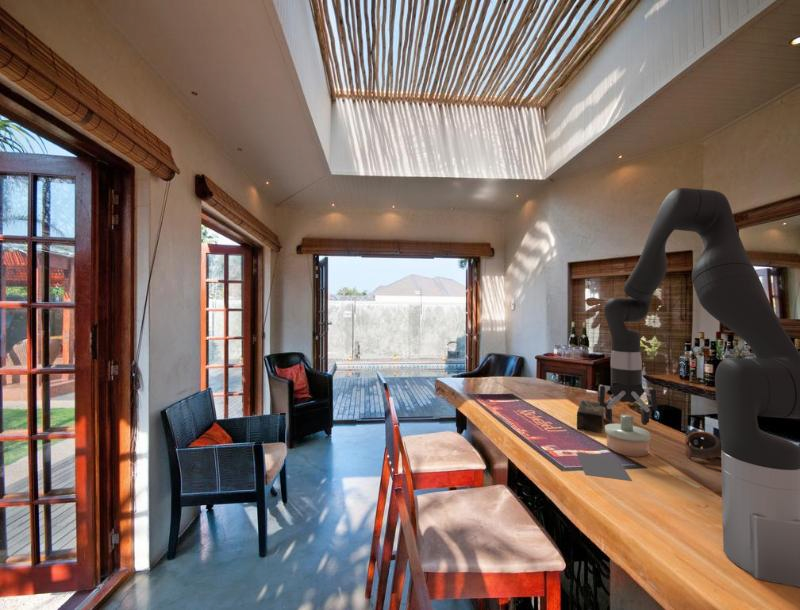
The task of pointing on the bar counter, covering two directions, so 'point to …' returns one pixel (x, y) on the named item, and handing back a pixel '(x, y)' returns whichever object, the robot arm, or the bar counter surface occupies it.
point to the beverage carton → (590, 416)
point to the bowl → (627, 446)
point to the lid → (627, 430)
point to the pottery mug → (702, 445)
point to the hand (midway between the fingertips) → (626, 422)
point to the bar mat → (603, 466)
